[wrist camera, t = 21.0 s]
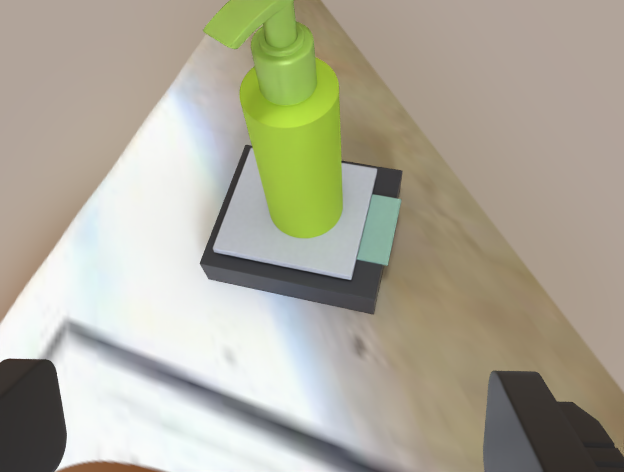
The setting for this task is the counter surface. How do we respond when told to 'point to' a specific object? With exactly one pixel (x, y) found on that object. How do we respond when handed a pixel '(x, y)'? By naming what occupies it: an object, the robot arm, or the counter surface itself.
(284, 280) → the kitchen scale
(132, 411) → the counter surface
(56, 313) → the counter surface
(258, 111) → the soap dispenser
